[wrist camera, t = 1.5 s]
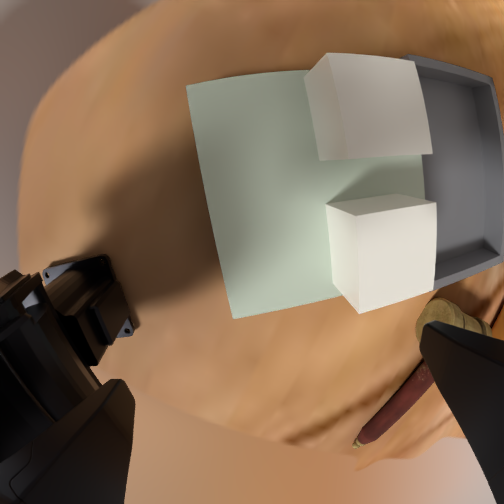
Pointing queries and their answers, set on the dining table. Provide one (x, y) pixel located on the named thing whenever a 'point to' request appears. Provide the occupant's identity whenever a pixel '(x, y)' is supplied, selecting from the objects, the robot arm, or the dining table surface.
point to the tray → (463, 168)
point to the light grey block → (367, 107)
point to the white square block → (382, 249)
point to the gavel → (422, 376)
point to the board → (278, 188)
